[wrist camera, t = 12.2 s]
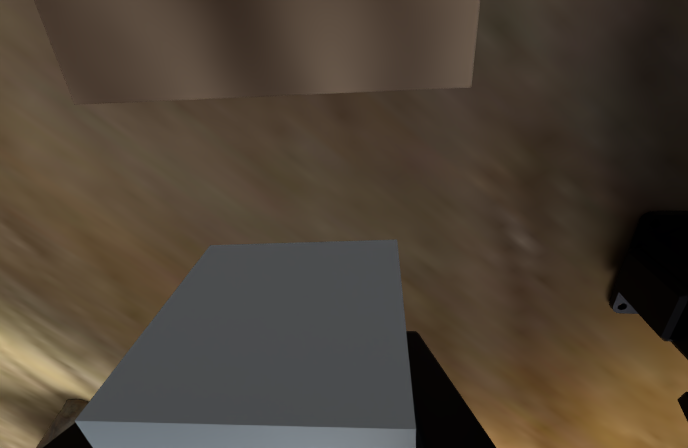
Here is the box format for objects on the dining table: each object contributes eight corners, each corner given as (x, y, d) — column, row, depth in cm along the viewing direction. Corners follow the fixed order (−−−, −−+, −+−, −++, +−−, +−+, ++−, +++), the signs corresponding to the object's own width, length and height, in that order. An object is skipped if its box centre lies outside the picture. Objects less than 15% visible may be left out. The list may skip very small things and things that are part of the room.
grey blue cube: (396, 239, 8) (416, 429, 4) (399, 374, 10) (413, 586, 6) (210, 245, 9) (74, 420, 5) (248, 373, 11) (174, 569, 7)
